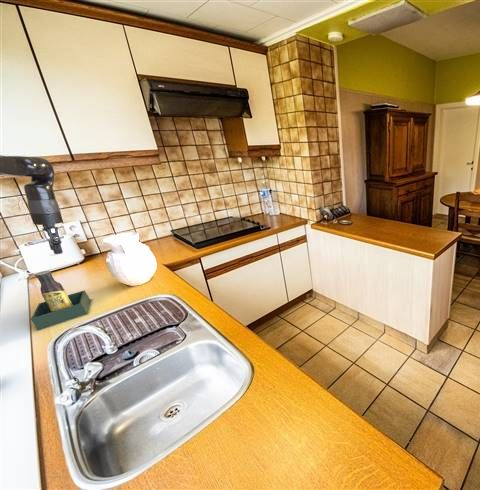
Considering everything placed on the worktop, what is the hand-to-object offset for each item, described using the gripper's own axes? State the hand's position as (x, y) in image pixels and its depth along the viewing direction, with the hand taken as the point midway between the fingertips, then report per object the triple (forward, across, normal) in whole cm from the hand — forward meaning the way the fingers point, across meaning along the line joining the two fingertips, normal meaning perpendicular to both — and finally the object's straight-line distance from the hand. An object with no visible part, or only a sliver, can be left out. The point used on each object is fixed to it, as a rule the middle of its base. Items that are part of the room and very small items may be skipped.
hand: (56, 251), depth 106 cm
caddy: (+29, -5, -2) cm, 29 cm away
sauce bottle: (+28, -5, -2) cm, 29 cm away
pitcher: (+24, -11, +26) cm, 37 cm away
